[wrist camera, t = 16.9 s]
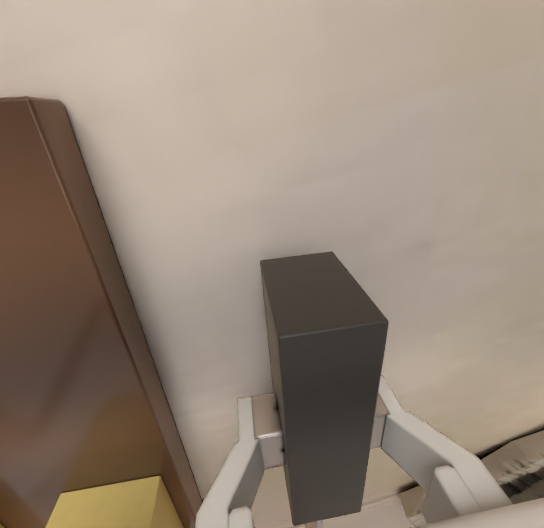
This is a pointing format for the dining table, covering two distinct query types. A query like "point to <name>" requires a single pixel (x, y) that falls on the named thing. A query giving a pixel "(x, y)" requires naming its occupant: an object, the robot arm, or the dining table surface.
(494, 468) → the packaged product
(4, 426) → the cutting board
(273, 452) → the robot arm
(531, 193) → the dining table surface
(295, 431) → the butter knife
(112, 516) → the butter block
